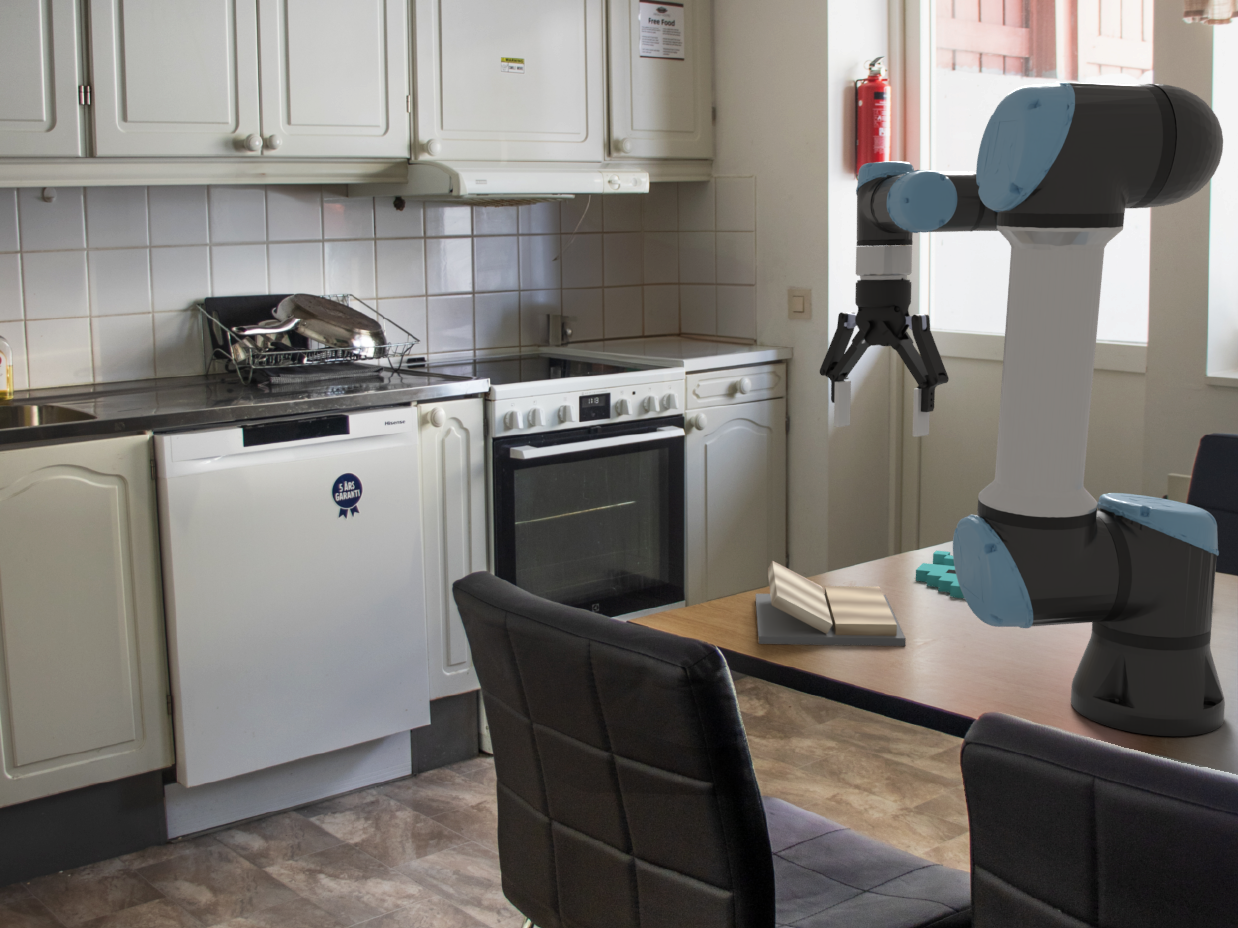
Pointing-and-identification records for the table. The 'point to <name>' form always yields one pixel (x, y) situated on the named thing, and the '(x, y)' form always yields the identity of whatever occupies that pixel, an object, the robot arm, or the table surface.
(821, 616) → the birch plank
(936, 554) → the alien figure
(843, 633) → the floor strip
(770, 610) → the underlay mat
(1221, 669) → the table surface
